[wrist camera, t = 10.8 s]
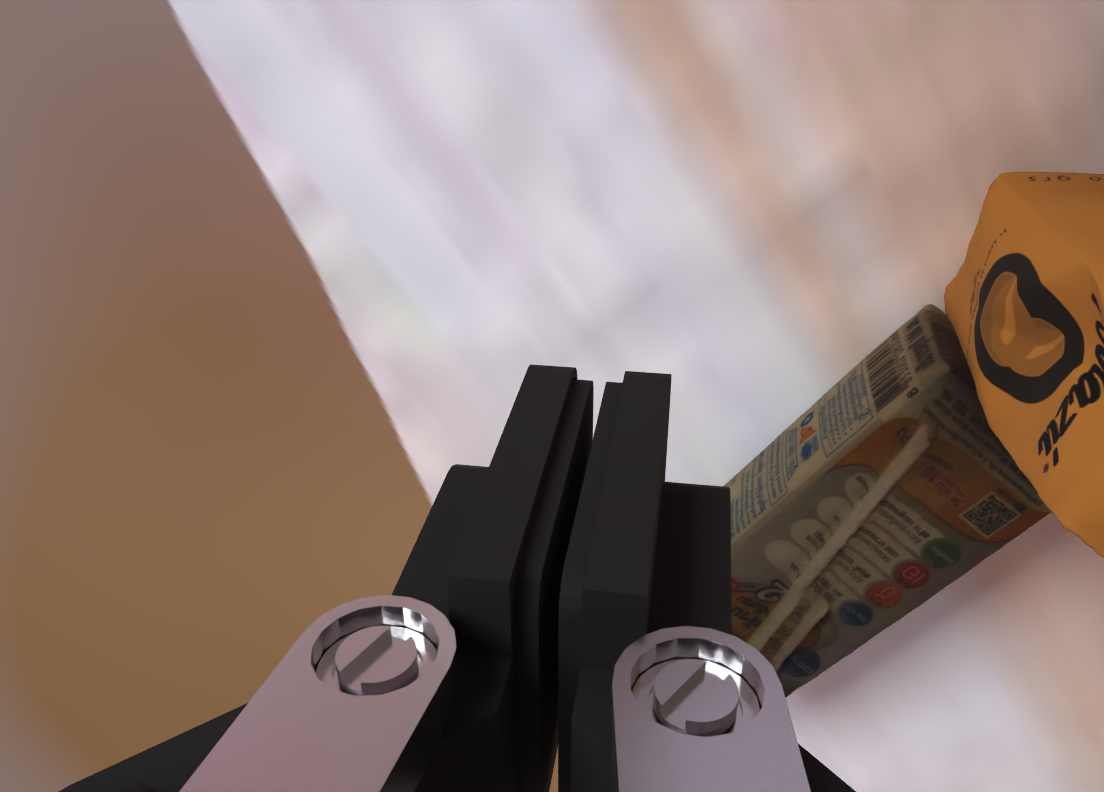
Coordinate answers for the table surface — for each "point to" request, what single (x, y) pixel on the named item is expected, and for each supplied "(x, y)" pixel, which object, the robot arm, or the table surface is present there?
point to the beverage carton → (871, 504)
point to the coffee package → (1041, 335)
